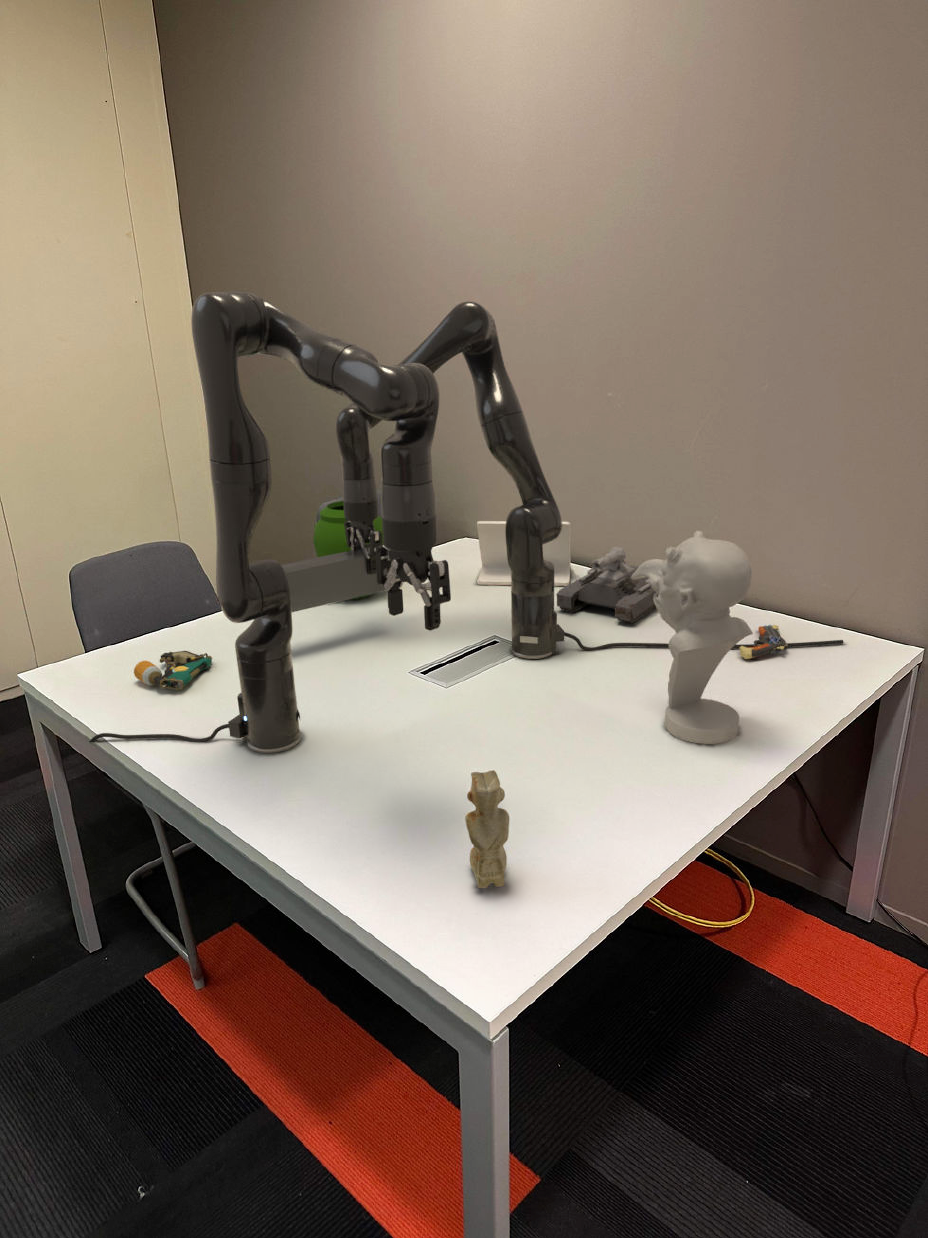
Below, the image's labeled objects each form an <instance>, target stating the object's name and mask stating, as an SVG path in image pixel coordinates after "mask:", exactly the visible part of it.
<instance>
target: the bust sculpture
mask: <svg viewBox="0 0 928 1238" xmlns="http://www.w3.org/2000/svg"><path fill="white" fill-rule="evenodd" d="M664 554H665V559H660V558H653V559H648V560H645V561H644V562H642V563H641V564H640V565H639V566H638V567H639V568H638V569H637V570H636V571H635V573H634V574H633V575H632V576H631V578H632V579H634V580H635V579H640V578H644V577H647V578H649V579H650V583H651V587H652V589H653V590H654V591H655V592H656V593H655V594H654V597H653V600H654V604H655V605H656V607H655V608H656V611H657V612H658V614H659V615H660V618H661V619H662V620H663V622H665V623H666V624H667V625H668V626H669V627H670V628H671V629H672V630H673V631H675V634H673V635H672V636H671V638H669V641H668V644H669V647H668V649H669V653H670V654H671V657H672V658H673V660H672V663H671V666H670V669H669V673H668V682H667V694H668V696H667V697H668V700H667V705H668V706H666V708H665V718H664V726H665V728H666V730H667V731H668V732H669V733H670V734H671V735H673V736H675V737H676V738H679V739H680V740H683V741H687V742H691V743H696V744H703V745H713V744H721V743H726V742H729V741H731V740H733V739H734V738H736V736H738V733H739V729H740V728H739V727H740V715H739V714H740V713H738V711H737V710H736V709H735V708H734V707H732V706H730V705H728V704H727V703H724V702H721V701H719V700H714V699H709V698H702V696H703V695H704V694H703V693H704V692H705V690H706V687H707V685H708V684H709V681H710V680H711V678H712V676H713V674H714V673H715V671H716V670H717V668H718V667H719V665H720V664H721V662H722V661H723V660H724V658H725V656H726V655H727V654H728V653H729V652H730V651H731V650H732V649H733V648H732V647H733V646H735V645H738V643H739V642H741V641H742V640H743V639H745V638H747V637H749V636H751V635H753V634H754V632H753V630H752V629H751V628H750V626H749V624H748V623H747V622H746V621H745V620H744V619H743V618H740V617H737V616H731V614H730V613H731V610H730V608H732V607H734V606H736V605H737V604H739V603H740V602H741V601H742V600H744V599H745V597H746V595H747V594H748V592H749V590H750V586H751V583H752V574H753V573H752V572H753V571H752V565H751V561H750V559H749V557H748V555H747V554H746V552H745V551H744V550H743V549H742V548H741V547H740V546H739V545H737V544H736V543H734V542H731V541H728V540H723V539H711V538H707V536H706V534H705V532H703V530H696V531H694V533H693V536H691V537H689V538H687V539H684V541H682V542H681V543H679V544H678V545H677V546H675V547H674V546H669V547H667V548H666V551H665V553H664Z"/></svg>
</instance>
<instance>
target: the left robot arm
mask: <svg viewBox="0 0 928 1238" xmlns="http://www.w3.org/2000/svg"><path fill="white" fill-rule="evenodd" d="M190 319H191V322H190V324H191V335H192V341H193V346H194V347H193V348H194V353H195V359H196V363H197V368H198V374H199V379H200V384H201V390H202V397H203V403H204V404H203V405H204V412H205V421H206V427H207V428H206V429H207V439H208V440H207V441H208V458H209V470H210V480H211V487H212V494H213V504H214V505H213V506H214V517H215V518H214V519H215V535H216V536H215V537H216V540H215V541H216V545H215V546H216V549H215V550H216V552H215V553H216V556H215V576H216V577H215V580H216V581H215V582H216V583H215V584H216V594H217V600H218V603H219V607H220V608H221V611H222V613H223V615H224V616H225V617H226V618H227V619H228V620H229V621H230V622H232V623H234V624H241V623H247V622H249V621H252V622H251V623H250V624H249V626H247V628H246V629H245V630H244V631H243V632H241V633H240V634H239V635H238V637H237V638H236V639H235V643H234V648H235V657H236V663H237V671H238V678H239V686H240V692H239V693H238V694H237V697H236V698H237V699H236V700H237V705H238V715H236V716H234V717H233V718H232V719H230V720H229V721H228V722H227V723H225V724H222V725H220V726H218V727H216V728H214V730H213V732H212V733H211V734H210V735H209V736H207V737H201V738H194V737H189V736H185V735H181V734H175V733H174V734H173V733H150V734H147V733H146V734H145V733H144V734H119V733H111V732H101V733H98V734H95V735H94V736H93V737H92V738H91V739H90V740H89V741H88V742H89V743H94V742H96V741H97V740H99V739H101V738H114V739H121V740H138V739H139V740H140V739H142V740H143V739H176V740H182V741H186V742H189V743H191V742H192V743H207V742H209V741H212V740H213V739H215V737H216V736H217V734H218V733H219V732H221V731H222V730H225V729H228V731H229V736H230V737H231V738H236V739H240V740H241V739H242V743H243V744H244V745H247V747H248V748H249V749H250V750H251V751H254V752H256V753H263V754H272V753H273V754H275V753H280V752H284V751H287V750H290V749H291V748H294V747H295V746H297V744H298V743H300V741H301V738H302V733H301V730H300V722H301V714H300V711H299V709H298V702H297V693H296V692H297V691H296V684H295V683H296V682H295V674H294V666H293V656H292V645H291V642H292V639H293V615H292V613H293V612H292V611H291V593H290V586H289V581H288V578H287V575H286V573H285V571H284V569H283V567H282V566H281V565H282V564H280V562H278V561H277V560H275V559H274V558H273V559H272V558H262V559H258V560H254V561H250V547H251V541H252V537H253V534H254V533H255V529H256V526H257V524H258V523H259V520H260V519H261V516H262V513H263V511H264V509H265V507H266V504H267V503H268V500H269V497H270V494H271V489H272V482H273V481H272V464H271V450H270V445H269V444H270V443H269V442H268V439H267V437H266V435H265V433H264V431H263V430H262V427H261V425H260V424H259V423H258V421H257V419H256V418H255V416H254V415H253V412H252V411H251V410H250V408H249V406H248V404H247V403H246V401H245V399H244V395H243V392H242V389H241V384H240V383H241V382H240V376H239V366H238V365H239V364H238V358H244V357H252V356H255V355H265V356H271V357H276V358H280V359H283V360H285V361H288V362H290V363H291V364H293V366H295V368H296V369H297V370H298V371H299V372H300V374H301V375H302V376H303V377H305V379H307V380H308V381H310V382H312V383H313V384H315V385H317V386H319V387H320V388H324V389H326V390H328V391H330V392H333V393H335V394H337V395H340V396H342V397H345V398H347V399H348V400H350V402H351V403H354V404H355V405H357V406H358V407H359V408H361V409H362V410H363V411H365V412H366V413H367V414H369V415H371V416H373V417H375V418H378V419H381V420H382V421H385V422H395V425H394V429H393V432H392V434H391V435H390V436H388V438H386V439H385V440H383V442H382V443H381V445H380V449H379V464H380V465H379V466H380V467H379V468H380V482H381V488H380V490H381V491H380V507H381V508H380V511H381V518H382V528H383V543H384V545H381V546H377V547H376V573H377V583H378V584H379V585H380V584H383V585H384V588H385V590H386V591H385V592H386V596H387V608H388V614H389V615H391V616H393V617H396V616H399V615H401V614H403V613H404V596H403V589H402V587H403V585H404V583H407V584H409V585H410V586H412V587H413V588H414V591H415V592H416V593H417V594H419V595H420V597H421V599H422V601H423V604H424V605H423V612H424V613H423V615H424V629H425V630H427V631H430V632H431V631H434V630H437V629H439V628H440V626H441V623H442V620H441V618H442V617H441V605H443V604H444V603H445V604H446V603H449V602H450V601H451V600H452V594H451V582H450V569H449V562H448V561H447V560H446V559H443V560H439V561H438V560H434V557H433V554H432V549H433V548H434V546H435V545H436V544H437V542H438V541H437V519H436V518H437V517H436V497H435V496H436V495H435V490H434V484H433V466H432V464H433V463H432V445H433V441H434V437H435V433H436V427H437V422H438V416H439V410H440V389H439V384H438V382H437V379H436V376H435V374H433V373H432V372H431V370H430V369H429V368H428V367H426V366H425V365H423V364H419V363H408V364H401V365H398V364H393V365H387V364H383V363H379V361H378V359H377V357H376V356H375V355H374V354H373V353H372V352H371V351H370V350H368V349H366V348H364V347H362V346H360V345H357V344H354V343H352V342H350V341H347V340H344V339H341V338H339V337H336V336H333V335H331V334H328V333H325V332H323V331H321V330H318V329H316V328H315V327H312V326H310V325H307V324H306V323H304V322H303V321H301V320H299V319H297V318H296V317H293V316H292V315H290V314H289V313H287V312H285V311H284V310H282V309H281V308H279V307H278V306H277V305H275V304H273V303H272V302H270V301H268V300H267V299H266V298H264V297H262V296H260V295H258V294H256V293H253V292H250V291H245V290H239V291H238V290H237V291H235V290H234V291H233V290H231V291H209V292H205V293H202V294H200V295H199V296H198V297H197V299H195V301H194V303H193V307H192V309H191V318H190ZM386 568H387V574H386V575H384V569H386ZM427 580H428V582H426V581H427ZM425 582H426V583H425ZM440 589H441V591H440ZM428 591H430V592H431V596H430V594H429V592H428ZM441 592H442V593H441ZM299 721H300V722H299Z"/></svg>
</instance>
